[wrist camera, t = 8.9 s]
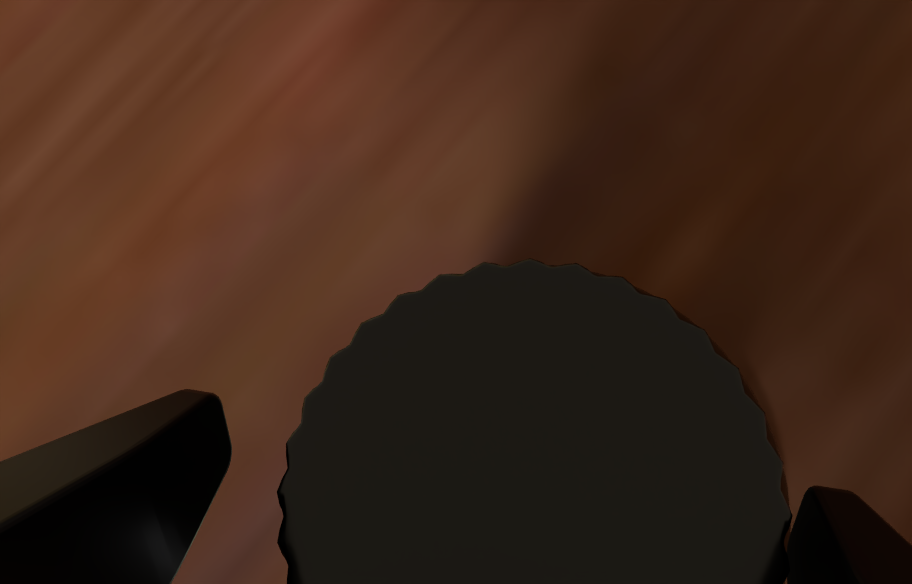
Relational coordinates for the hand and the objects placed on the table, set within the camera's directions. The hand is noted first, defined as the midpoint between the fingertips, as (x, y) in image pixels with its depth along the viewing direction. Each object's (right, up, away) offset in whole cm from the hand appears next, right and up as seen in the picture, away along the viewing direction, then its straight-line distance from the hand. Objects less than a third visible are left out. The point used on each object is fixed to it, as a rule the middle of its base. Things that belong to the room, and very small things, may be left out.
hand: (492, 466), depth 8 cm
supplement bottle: (+2, -3, +10) cm, 11 cm away
